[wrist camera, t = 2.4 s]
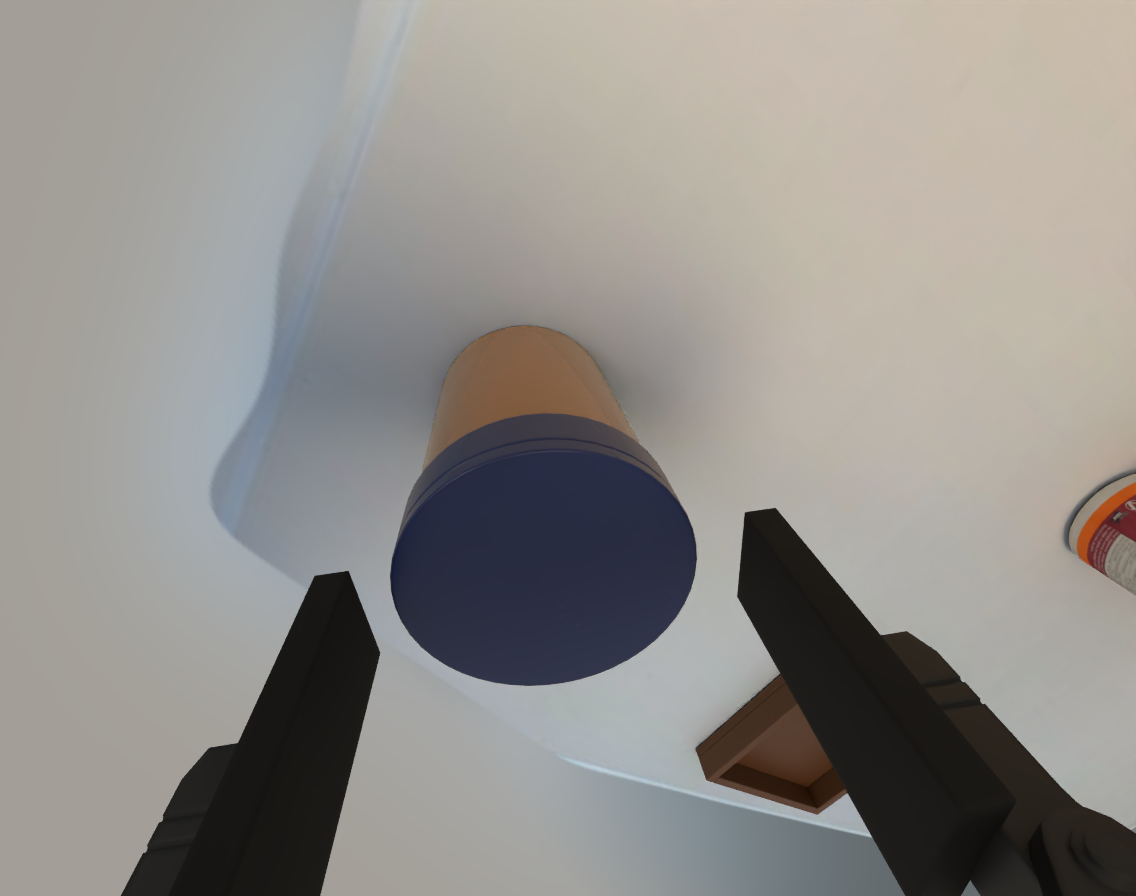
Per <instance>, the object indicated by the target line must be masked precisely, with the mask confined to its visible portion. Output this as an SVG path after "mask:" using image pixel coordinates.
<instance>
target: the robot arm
mask: <svg viewBox="0 0 1136 896" xmlns="http://www.w3.org/2000/svg"><path fill="white" fill-rule="evenodd" d="M737 597H738V599H739V601H740V602H741V604H742V606H743V608H744V610H745V611H746V613H747V615H748V617H749V618H750V620H751V622H752V624H753V626H754V627H755V629H756V631H757V633H758V634H759V636H760V638H761V640H762V642H763V643H764V645H765V647H766V649H767V650H768V652H769V654H770V656H771V658H772V659H773V661H774V663H775V665H776V666H777V668H778V670H779V672H780V674H781V675H782V677H783V679H784V681H785V682H786V684H787V686H788V688H789V690H790V691H791V693H792V695H793V697H794V699H795V700H796V702H797V704H798V706H799V707H800V709H801V711H802V713H803V715H804V716H805V718H806V720H807V722H808V723H809V725H810V727H811V729H812V731H813V732H814V734H815V736H816V738H817V739H818V741H819V743H820V745H821V747H822V748H823V750H824V752H825V754H826V755H827V757H828V759H829V761H830V763H831V764H832V766H833V768H834V770H835V771H836V773H837V775H838V777H839V779H840V780H841V782H842V784H843V786H844V787H845V789H846V791H847V793H848V795H849V796H850V798H851V800H852V802H853V803H854V805H855V807H856V809H857V811H858V812H859V814H860V816H861V818H862V820H863V821H864V823H865V825H866V827H867V828H868V830H869V832H870V834H871V836H872V837H873V839H874V841H875V843H876V844H877V846H878V848H879V850H880V851H881V853H882V855H883V857H884V859H885V860H886V862H887V864H888V866H889V868H890V869H891V871H892V873H893V875H894V876H895V878H896V880H897V882H898V884H899V885H900V887H901V889H902V891H903V892H904V894H905V896H961V894H962V893H963V891H964V889H965V887H966V886H967V884H968V883H969V881H970V880H971V882H972V883H973V885H974V886H975V888H976V889H977V891H978V892H979V894H980V895H981V896H1136V833H1134V832H1132V831H1131V830H1129V829H1128V828H1126V827H1125V826H1123V825H1122V824H1120V823H1119V822H1117V821H1116V820H1114V819H1112V818H1111V817H1108V816H1106V815H1103V814H1101V813H1098V812H1096V811H1093V810H1091V809H1088V808H1086V807H1083V806H1081V805H1080V804H1079V803H1077V802H1076V801H1075V800H1074V799H1073V798H1072V797H1071V796H1070V795H1069V794H1068V793H1067V792H1066V791H1064V790H1063V789H1062V788H1061V787H1060V786H1059V784H1058V783H1057V782H1056V781H1055V780H1054V779H1053V778H1052V777H1051V776H1050V775H1049V773H1048V772H1047V771H1046V770H1045V769H1044V768H1043V767H1042V766H1041V765H1040V764H1039V763H1038V761H1037V760H1036V759H1035V758H1034V757H1033V756H1032V755H1031V754H1030V753H1029V752H1028V751H1027V749H1026V748H1025V747H1024V746H1023V745H1022V744H1021V743H1020V742H1019V741H1018V740H1017V738H1016V737H1015V736H1014V735H1013V734H1012V733H1011V732H1010V731H1009V730H1008V729H1007V728H1006V726H1005V725H1004V724H1003V723H1002V722H1001V721H1000V720H999V719H998V718H997V717H996V716H995V714H994V713H993V712H992V711H991V710H990V709H989V708H988V707H987V706H986V705H985V704H982V703H981V702H980V698H979V697H978V696H977V695H976V694H975V693H974V691H973V690H972V689H971V688H970V687H969V686H968V685H967V684H966V683H965V682H962V681H961V679H960V676H959V675H958V674H957V673H956V672H955V671H954V670H953V669H952V667H951V666H950V665H949V664H948V663H947V662H946V661H945V660H944V659H943V658H942V657H941V655H940V654H939V653H938V652H937V651H935V650H934V649H932V648H931V647H929V646H928V645H926V644H925V643H923V642H922V641H920V640H919V639H918V638H916V637H915V636H913V635H912V634H910V633H909V632H907V631H905V632H899V633H893V634H887V635H880V634H879V633H878V631H877V630H876V629H875V628H874V627H873V625H872V624H871V623H870V622H869V621H868V619H867V618H866V617H865V616H864V614H863V613H862V612H861V611H860V610H859V608H858V607H857V606H856V605H855V604H854V602H853V601H852V600H851V599H850V598H849V596H848V595H847V594H846V593H845V591H844V590H843V589H842V588H841V587H840V585H839V584H838V583H837V582H836V581H835V579H834V578H833V577H832V576H831V575H830V573H829V572H828V571H827V570H826V568H825V567H824V566H823V565H822V564H821V562H820V561H819V560H818V559H817V558H816V556H815V555H814V554H813V553H812V551H811V550H810V549H809V548H808V547H807V545H806V544H805V543H804V542H803V541H802V539H801V538H800V537H799V536H798V535H797V533H796V532H795V531H794V530H793V528H792V527H791V526H790V525H789V524H788V522H787V521H786V520H785V519H784V518H783V516H782V515H781V514H780V513H779V511H778V510H777V509H776V508H772V509H765V510H758V511H751V512H745V517H744V528H743V539H742V550H741V561H740V572H739V584H738V595H737ZM379 656H380V651H379V648H378V646H377V643H376V641H375V638H374V636H373V633H372V630H371V628H370V625H369V623H368V620H367V617H366V615H365V612H364V610H363V607H362V604H361V602H360V599H359V597H358V594H357V592H356V589H355V586H354V584H353V581H352V579H351V576H350V573H349V571H345V572H338V573H331V574H324V575H317V576H314V578H313V581H312V583H311V585H310V587H309V589H308V591H307V594H306V596H305V598H304V600H303V602H302V605H301V607H300V609H299V611H298V613H297V616H296V618H295V620H294V622H293V624H292V626H291V629H290V631H289V633H288V635H287V637H286V639H285V642H284V644H283V646H282V649H281V650H280V653H279V655H278V657H277V659H276V661H275V664H274V666H273V668H272V670H271V672H270V674H269V677H268V679H267V681H266V684H265V685H264V688H263V690H262V692H261V694H260V696H259V698H258V701H257V703H256V705H255V707H254V709H253V712H252V714H251V716H250V718H249V720H248V722H247V725H246V727H245V729H244V731H243V733H242V736H241V738H240V740H239V742H238V743H236V744H230V745H224V746H218V747H211V748H209V749H208V750H207V751H206V752H205V753H204V754H203V756H202V757H201V758H200V759H199V760H198V761H197V762H196V764H195V765H194V766H193V767H192V769H190V771H189V772H188V773H187V774H186V775H185V776H184V778H183V779H182V780H181V782H180V784H179V786H178V788H177V789H176V791H175V793H174V795H173V797H172V799H171V801H170V803H169V805H168V807H167V809H166V811H165V812H164V814H163V821H162V822H160V823H159V824H158V826H157V828H156V830H155V831H154V833H153V835H152V837H151V839H150V841H149V843H148V845H147V846H148V849H147V851H146V853H143V854H142V857H141V858H140V860H139V862H138V864H137V866H136V868H135V870H134V872H133V874H132V875H131V877H130V879H129V881H128V883H127V885H126V887H125V889H124V891H123V893H122V894H121V896H320V894H321V890H322V886H323V882H324V878H325V874H326V870H327V866H328V862H329V858H330V854H331V850H332V846H333V842H334V837H335V833H336V830H337V825H338V822H339V818H340V813H341V809H342V805H343V801H344V797H345V793H346V789H347V785H348V781H349V777H350V773H351V769H352V764H353V761H354V756H355V753H356V749H357V744H358V741H359V737H360V733H361V729H362V725H363V720H364V716H365V713H366V709H367V704H368V700H369V696H370V692H371V688H372V684H373V680H374V676H375V672H376V668H377V664H378V660H379Z"/></svg>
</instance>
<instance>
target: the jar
mask: <svg viewBox="0 0 1136 896" xmlns="http://www.w3.org/2000/svg"><path fill="white" fill-rule="evenodd" d="M540 413H554V414H568V415H574V416H580V417H585V418H589V419H592V420H595V421H599V422H602V423H604V424H607V425H609V426H611V427H613V428H615V429H618V430H620V431H621V432H623V433H624V434H626V435H628V436H629V437H631V438H632V439H634V440H635V441H636V442H637V443H639V441H638V439H637V438H636V436H635V434H634V432H633V430H632V428H631V426H630V424H629V423H628V421H627V419H626V417H625V415H624V413H623V411H622V409H621V408H620V406H619V404H618V402H617V400H616V398H615V396H614V394H613V393H612V391H611V389H610V387H609V385H608V383H607V381H606V380H605V378H604V376H603V374H602V372H601V370H600V368H599V367H598V365H597V363H596V362H595V360H594V359H593V358H592V357H591V355H590V354H589V353H588V352H587V351H586V350H585V349H584V348H583V347H582V346H581V345H580V344H578V343H577V342H575V341H574V340H572V339H571V338H569V337H567V336H565V335H563V334H561V333H559V332H556V331H553V330H551V329H547V328H542V327H536V326H514V327H509V328H503V329H500V330H497V331H494V332H491V333H489V334H487V335H485V336H483V337H481V338H479V339H478V340H476V341H475V342H473V343H472V344H470V345H469V346H468V347H467V348H466V349H465V350H463V351H462V352H461V354H460V355H459V356H458V357H457V358H456V359H455V361H454V362H453V364H452V365H451V367H450V369H449V370H448V373H447V375H446V377H445V379H444V383H443V386H442V390H441V394H440V398H439V402H438V406H437V411H436V415H435V419H434V423H433V427H432V432H431V436H430V440H429V444H428V448H427V452H426V457H425V461H424V465H423V469H422V473H423V471H424V470H425V468H426V467H427V466H428V465H429V464H430V463H431V462H432V461H433V460H434V459H435V457H436V456H437V455H439V454H440V453H441V452H442V451H443V450H445V449H446V448H447V447H448V446H449V445H451V444H452V443H453V442H455V441H457V440H458V439H460V438H461V437H463V436H464V435H466V434H468V433H470V432H472V431H474V430H476V429H478V428H480V427H483V426H485V425H487V424H490V423H493V422H496V421H499V420H502V419H505V418H511V417H516V416H521V415H527V414H540ZM639 444H640V443H639ZM422 473H421V474H422Z"/></svg>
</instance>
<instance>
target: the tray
mask: <svg viewBox="0 0 1136 896" xmlns="http://www.w3.org/2000/svg"><path fill="white" fill-rule="evenodd" d="M696 752H697V755H698V757H699V760H700V763H701V766H702V769H703V772H704V775H705V777H706V780H707V781H710V782H714V783H717V784H720V785H723V786H726V787H730V788H733V789H736V790H739V791H743V792H746V793H749V794H752V795H755V796H759V797H762V798H765V799H768V800H772V801H775V802H778V803H781V804H785V805H788V806H791V807H794V808H798V809H801V810H804V811H807V812H810V813H814V814H819V813H820V812H822V811H823V810H824V809H826V808H827V807H829V806H830V805H831V804H833V803H834V802H835V801H837V800H838V799H840V798H841V797H842V796H844V795H845V794H846V793H847V791H846V789H845V787H844V786H843V784H842V782H841V780H840V779H839V777H838V775H837V773H836V771H835V770H834V768H833V766H832V764H831V763H830V761H829V759H828V757H827V755H826V754H825V752H824V750H823V748H822V747H821V745H820V743H819V741H818V739H817V738H816V736H815V734H814V732H813V731H812V729H811V727H810V725H809V723H808V722H807V720H806V718H805V716H804V715H803V713H802V711H801V709H800V707H799V706H798V704H797V702H796V700H795V699H794V697H793V695H792V693H791V691H790V690H789V688H788V686H787V684H786V682H785V681H784V679H783V677H782V675H779V676H778V677H777V678H776V679H775V680H774V681H773V682H772V683H770V684H769V685H768V686H767V687H766V688H765V689H764V690H762V691H761V692H760V693H759V694H758V695H757V696H756V697H754V698H753V699H752V700H751V701H750V702H749V703H748V704H746V705H745V706H744V707H743V708H742V709H741V710H740V711H739V712H737V713H736V714H735V715H734V716H733V717H732V718H731V719H729V720H728V721H727V722H726V723H725V724H724V725H723V726H721V727H720V728H719V729H718V730H717V731H716V732H715V733H713V734H712V735H711V736H710V737H709V738H708V739H707V740H705V741H704V742H703V743H702V744H701V745H700V746H699V747H698V748H696Z"/></svg>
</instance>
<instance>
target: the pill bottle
mask: <svg viewBox="0 0 1136 896" xmlns="http://www.w3.org/2000/svg"><path fill="white" fill-rule="evenodd" d="M1069 544H1070V548H1071V549H1072V551H1073V552H1074V553H1075V554H1076V555H1077V556H1078V557H1079V558H1080V559H1081V560H1083V561H1084V562H1086V563H1087V564H1089V565H1090V566H1092V567H1093V568H1095V569H1096V570H1098V571H1099V572H1101V573H1102V574H1104V575H1105V576H1107V577H1108V578H1110V579H1111V580H1113V581H1114V582H1116V583H1117V584H1119V585H1120V586H1122V587H1124V588H1125V589H1127V590H1128V591H1130V592H1131V593H1133V594H1134V595H1136V474H1133V475H1129V476H1127V477H1124V478H1121V479H1119V480H1117V481H1115V482H1113V483H1111V484H1109V485H1107V486H1106V487H1104V488H1103V489H1102V490H1100V491H1099V492H1097V493H1096V494H1095V495H1094V496H1093V497H1092V498H1091V499H1090V500H1089V501H1088V502H1087V503H1086V504H1085V505H1084V506H1083V508H1082V509H1081V510H1080V511H1079V513H1078V514H1077V516H1076V518H1075V520H1074V522H1073V524H1072V526H1071V529H1070V532H1069Z"/></svg>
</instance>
